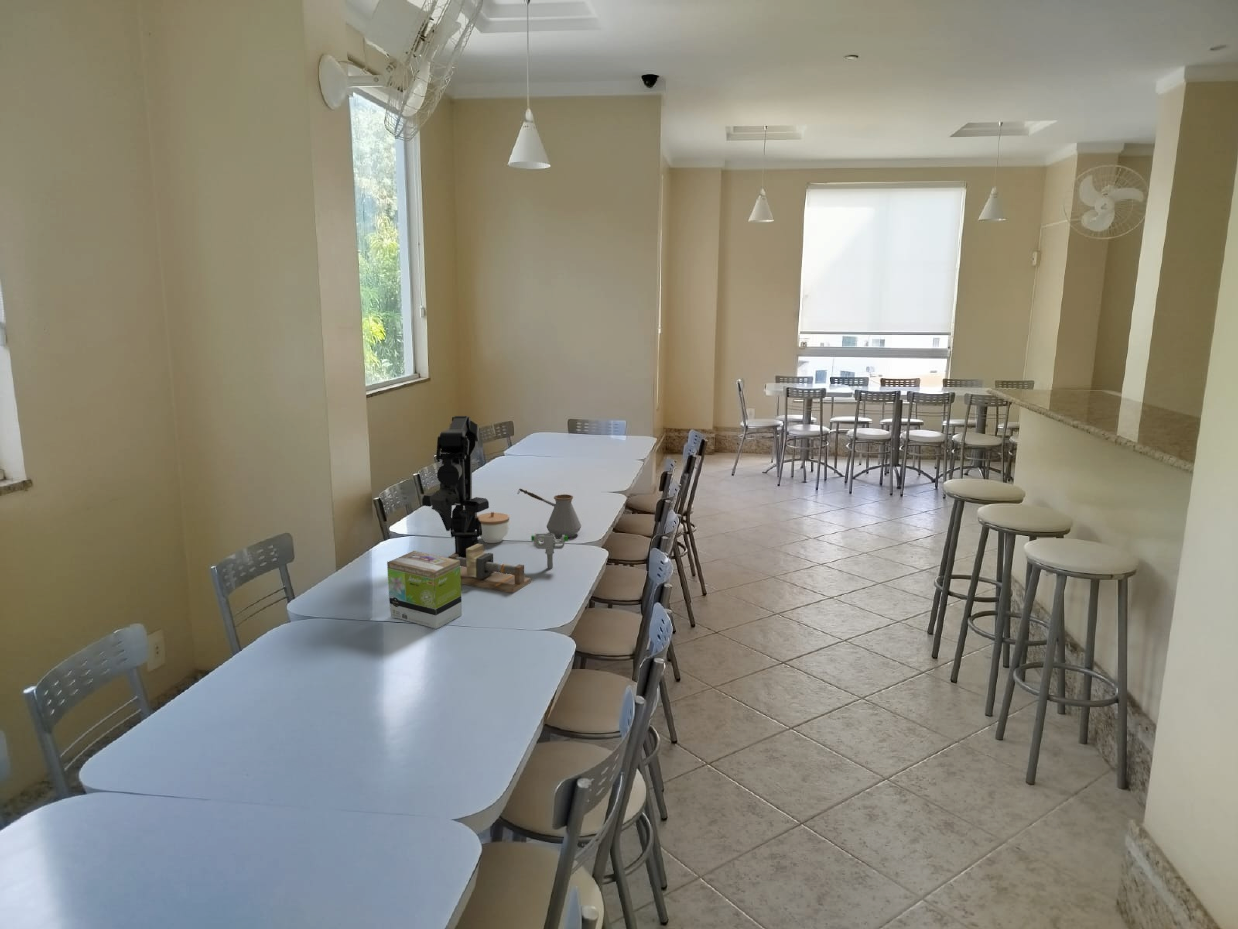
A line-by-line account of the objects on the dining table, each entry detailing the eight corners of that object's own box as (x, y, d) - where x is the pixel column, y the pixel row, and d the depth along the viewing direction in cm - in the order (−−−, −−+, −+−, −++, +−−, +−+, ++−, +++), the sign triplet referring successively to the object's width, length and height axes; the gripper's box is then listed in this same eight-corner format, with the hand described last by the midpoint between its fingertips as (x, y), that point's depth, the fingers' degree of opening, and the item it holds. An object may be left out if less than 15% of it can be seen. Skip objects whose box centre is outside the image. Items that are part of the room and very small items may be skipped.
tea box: (388, 618, 194) (385, 560, 191) (416, 604, 203) (413, 549, 200) (436, 630, 187) (433, 570, 184) (463, 615, 196) (461, 558, 193)
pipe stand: (442, 580, 220) (441, 559, 219) (461, 570, 228) (460, 550, 227) (513, 593, 210) (512, 571, 209) (530, 582, 218) (530, 561, 217)
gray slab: (477, 578, 217) (476, 558, 216) (488, 571, 222) (488, 552, 220) (482, 579, 216) (481, 559, 215) (493, 572, 221) (493, 553, 220)
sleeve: (467, 575, 218) (465, 549, 217) (478, 569, 223) (477, 543, 221) (476, 577, 217) (475, 550, 215) (487, 571, 222) (486, 545, 220)
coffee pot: (584, 530, 267) (584, 487, 264) (576, 540, 256) (576, 495, 253) (523, 527, 271) (522, 484, 268) (513, 536, 260) (512, 492, 257)
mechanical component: (567, 569, 228) (566, 536, 226) (531, 569, 229) (530, 536, 227) (568, 566, 231) (567, 533, 229) (533, 566, 232) (532, 533, 229)
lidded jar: (470, 543, 253) (469, 515, 251) (485, 534, 263) (484, 506, 261) (501, 546, 250) (500, 517, 248) (515, 536, 260) (514, 509, 258)
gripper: (407, 480, 214) (410, 535, 217) (465, 486, 206) (467, 544, 209) (433, 472, 224) (435, 525, 227) (489, 478, 216) (490, 533, 219)
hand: (456, 532), depth 220 cm, fingers open, 5 cm apart
